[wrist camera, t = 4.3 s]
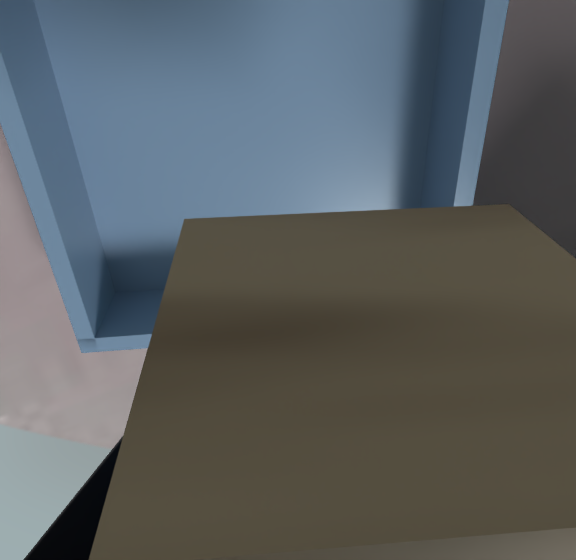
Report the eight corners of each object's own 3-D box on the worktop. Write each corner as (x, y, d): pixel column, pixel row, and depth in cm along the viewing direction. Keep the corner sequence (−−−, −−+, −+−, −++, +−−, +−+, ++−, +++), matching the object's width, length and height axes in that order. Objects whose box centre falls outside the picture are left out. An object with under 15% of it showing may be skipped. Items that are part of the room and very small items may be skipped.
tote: (421, 276, 20) (451, 325, 17) (107, 297, 19) (81, 353, 16) (502, -357, 11) (596, -489, 8) (-80, -344, 10) (-213, -480, 7)
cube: (454, 425, 10) (609, 751, 6) (216, 442, 10) (191, 796, 5) (508, 204, 7) (874, 502, 3) (184, 218, 7) (86, 567, 3)
